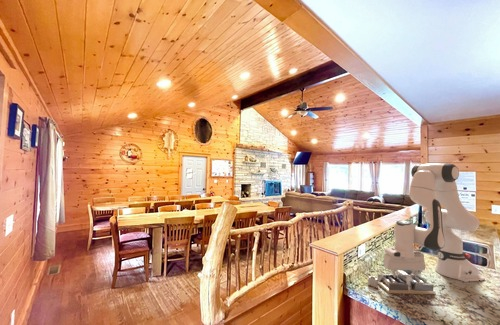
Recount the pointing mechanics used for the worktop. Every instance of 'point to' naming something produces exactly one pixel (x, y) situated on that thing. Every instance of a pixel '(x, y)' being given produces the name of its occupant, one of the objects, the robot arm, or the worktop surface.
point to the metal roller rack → (405, 285)
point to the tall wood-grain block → (405, 278)
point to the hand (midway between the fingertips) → (404, 277)
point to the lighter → (375, 280)
